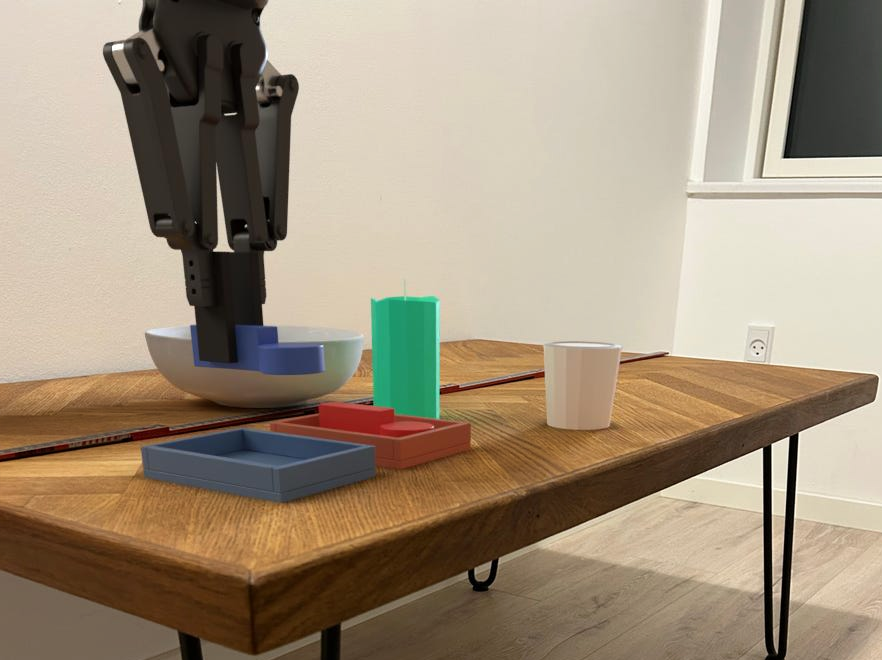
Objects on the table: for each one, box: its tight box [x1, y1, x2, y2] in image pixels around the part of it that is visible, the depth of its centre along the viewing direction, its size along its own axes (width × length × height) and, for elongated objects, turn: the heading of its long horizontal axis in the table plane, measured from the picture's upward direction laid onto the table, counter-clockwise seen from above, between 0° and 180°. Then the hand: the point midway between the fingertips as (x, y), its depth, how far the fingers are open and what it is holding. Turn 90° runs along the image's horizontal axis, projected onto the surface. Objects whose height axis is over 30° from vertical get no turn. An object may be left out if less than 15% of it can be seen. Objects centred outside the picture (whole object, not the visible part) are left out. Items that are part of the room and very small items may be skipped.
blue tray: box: [140, 427, 377, 504], centre depth 63 cm, size 12×9×2 cm
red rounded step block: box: [318, 400, 434, 438], centre depth 72 cm, size 10×4×3 cm, turn 58°
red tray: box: [269, 413, 472, 470], centre depth 72 cm, size 12×9×2 cm
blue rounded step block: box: [189, 324, 325, 375], centre depth 60 cm, size 10×4×3 cm, turn 58°
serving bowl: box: [144, 324, 365, 409], centre depth 94 cm, size 21×21×7 cm
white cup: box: [543, 340, 623, 431], centre depth 84 cm, size 7×7×7 cm
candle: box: [370, 279, 441, 419], centre depth 84 cm, size 6×6×12 cm
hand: (232, 359), depth 61 cm, fingers closed on blue rounded step block, 2 cm apart
